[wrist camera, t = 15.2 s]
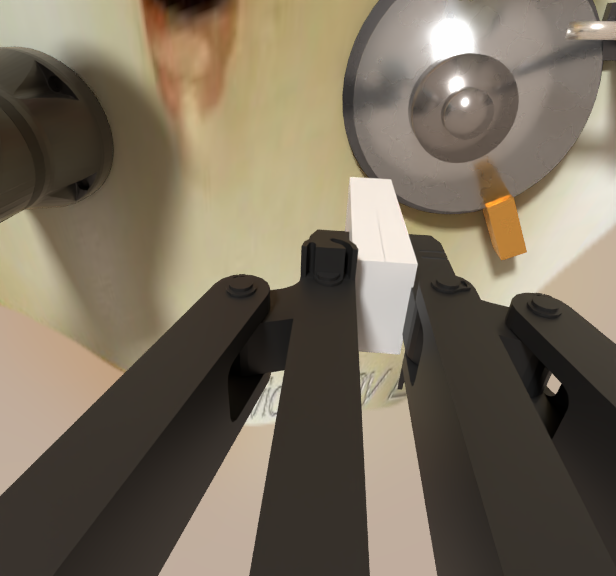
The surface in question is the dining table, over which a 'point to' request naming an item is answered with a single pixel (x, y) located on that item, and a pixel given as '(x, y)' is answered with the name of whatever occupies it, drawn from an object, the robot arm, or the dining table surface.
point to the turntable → (531, 109)
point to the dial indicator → (597, 31)
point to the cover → (463, 106)
